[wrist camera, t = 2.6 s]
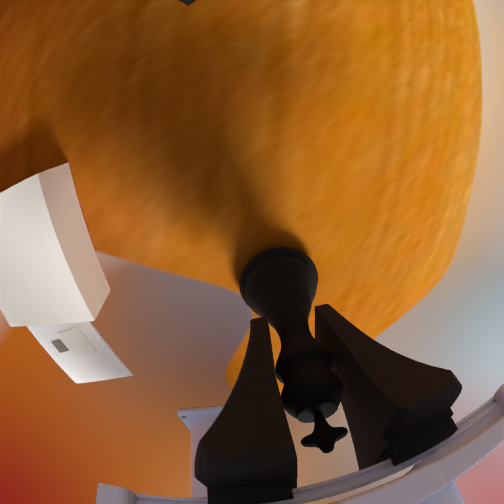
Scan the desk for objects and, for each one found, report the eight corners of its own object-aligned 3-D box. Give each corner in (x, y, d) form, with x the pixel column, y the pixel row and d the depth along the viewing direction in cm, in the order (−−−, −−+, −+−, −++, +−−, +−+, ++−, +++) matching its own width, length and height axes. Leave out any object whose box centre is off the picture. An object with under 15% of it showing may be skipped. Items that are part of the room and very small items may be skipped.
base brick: (111, 290, 15) (94, 320, 12) (29, 302, 15) (10, 326, 12) (68, 162, 11) (37, 173, 9) (-11, 201, 11) (-39, 217, 8)
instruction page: (133, 373, 18) (133, 376, 18) (76, 381, 19) (76, 384, 18) (64, 282, 14) (63, 285, 14) (14, 305, 15) (12, 308, 14)
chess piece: (231, 255, 14) (245, 446, 5) (313, 238, 14) (410, 400, 5) (247, 317, 16) (268, 479, 8) (317, 302, 16) (379, 450, 8)
